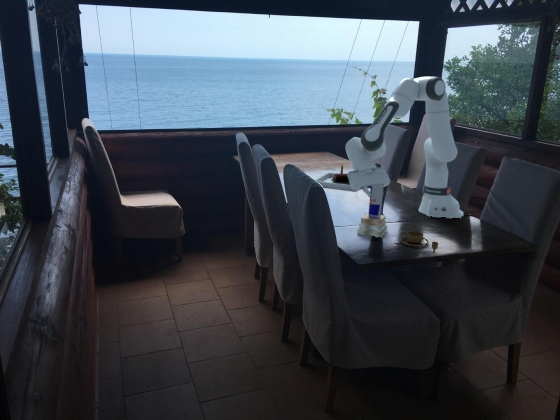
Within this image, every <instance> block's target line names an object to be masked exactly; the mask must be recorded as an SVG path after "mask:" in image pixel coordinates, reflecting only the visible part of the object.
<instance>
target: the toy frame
mask: <svg viewBox="0 0 560 420" xmlns="http://www.w3.org/2000/svg"><path fill="white" fill-rule="evenodd" d="M334 174H336V173H335V172H329V171H328V172H326V173H325V174H323V175H321V176H320V177H318V178H316V179H315V180H316V181H317V182H318V183H320V184H321V185H322V186H323V187H322V188H329V189H336V188H337V190H345V191H351V192H352V191H353V192H357V191H358V190H353V189H352V188H351V186H350V185H345V184H337V183H334V182H330V181H329V182H327V181H325V180H327V179H328V178H331V177H332V178H331V179H333V177H334ZM323 180H324V181H323Z"/></svg>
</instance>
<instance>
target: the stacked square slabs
mask: <svg viewBox="0 0 560 420" xmlns="http://www.w3.org/2000/svg"><path fill="white" fill-rule="evenodd" d="M368 215H369V212H366V213H365V214H363V216H361V219H360V222H359V224H358V228H357V231H356V234H357V235H362V236H366V235H367V236H368V237H372V236H375V237H374V238H378V237H381V238H383V236H384V235H385V234H386V232H387V231H388V225H387V220H386V215H383V214H381V217H380V218H371V217H369V216H368ZM384 233H385V234H384Z"/></svg>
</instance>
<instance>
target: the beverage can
mask: <svg viewBox="0 0 560 420" xmlns="http://www.w3.org/2000/svg"><path fill="white" fill-rule="evenodd" d="M369 191H370V192H372V194H373V195H372V196H371V197H369V202H368V203H369V204H368V213H369V215H368V216H369V217H371V218H380V217H381V215H382V209H383V208H382V207H383V195H384V194H383V193H384V187H383V185H381V184H375V185H371V188H369Z"/></svg>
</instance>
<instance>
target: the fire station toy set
mask: <svg viewBox="0 0 560 420" xmlns="http://www.w3.org/2000/svg"><path fill="white" fill-rule="evenodd" d="M330 181H331V182H332V183H337V184H345V185H350V182H349V178H348V176H347V173H344V165H342V164H341V165H340V173H336V174H334V177H333V178H330Z"/></svg>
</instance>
